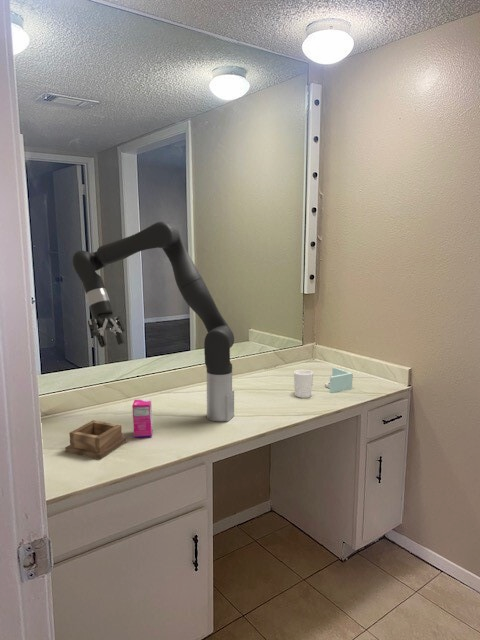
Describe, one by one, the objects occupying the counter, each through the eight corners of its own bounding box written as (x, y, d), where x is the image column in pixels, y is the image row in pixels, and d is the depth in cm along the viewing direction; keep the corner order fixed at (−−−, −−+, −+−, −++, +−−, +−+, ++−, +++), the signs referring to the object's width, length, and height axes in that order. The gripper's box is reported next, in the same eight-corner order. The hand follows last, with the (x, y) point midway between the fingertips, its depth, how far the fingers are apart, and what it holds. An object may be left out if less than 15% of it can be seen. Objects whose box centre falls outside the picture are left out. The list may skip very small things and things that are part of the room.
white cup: (291, 397, 200) (291, 373, 199) (296, 391, 208) (296, 368, 206) (309, 399, 197) (310, 375, 196) (314, 393, 205) (315, 370, 203)
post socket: (126, 442, 155) (125, 424, 154) (100, 459, 143) (99, 440, 142) (93, 436, 160) (92, 418, 159) (65, 452, 148) (64, 433, 147)
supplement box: (135, 431, 164) (134, 398, 162) (153, 430, 165) (152, 398, 163) (133, 438, 159) (132, 404, 157) (151, 437, 159) (150, 404, 157)
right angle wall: (333, 383, 222) (333, 367, 221) (351, 390, 212) (352, 373, 211) (312, 387, 216) (313, 370, 215) (331, 394, 206) (331, 377, 204)
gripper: (91, 300, 168) (104, 344, 166) (120, 298, 180) (133, 340, 178) (77, 307, 172) (90, 351, 170) (107, 306, 184) (119, 346, 182)
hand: (112, 345), depth 174 cm, fingers open, 8 cm apart
